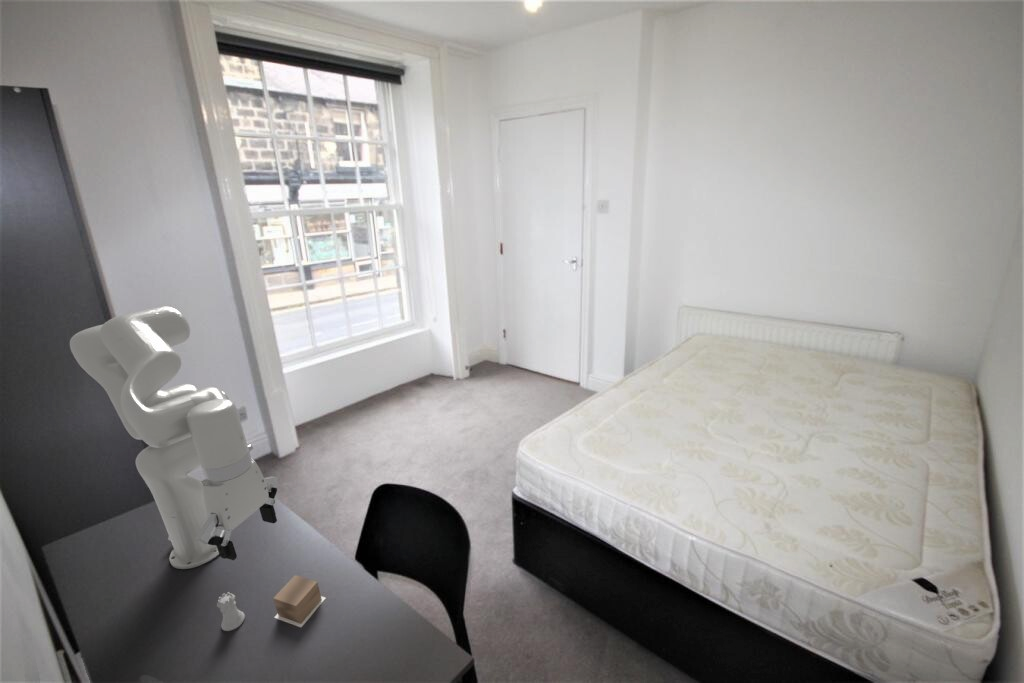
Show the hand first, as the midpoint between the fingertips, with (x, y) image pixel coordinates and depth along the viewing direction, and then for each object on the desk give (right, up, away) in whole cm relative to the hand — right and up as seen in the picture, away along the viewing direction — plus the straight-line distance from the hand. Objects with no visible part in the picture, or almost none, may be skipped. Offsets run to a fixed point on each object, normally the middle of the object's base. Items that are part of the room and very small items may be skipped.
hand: (250, 538), depth 88 cm
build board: (+5, -19, +8) cm, 21 cm away
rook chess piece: (-6, -21, +6) cm, 22 cm away
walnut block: (+6, -18, +8) cm, 21 cm away
